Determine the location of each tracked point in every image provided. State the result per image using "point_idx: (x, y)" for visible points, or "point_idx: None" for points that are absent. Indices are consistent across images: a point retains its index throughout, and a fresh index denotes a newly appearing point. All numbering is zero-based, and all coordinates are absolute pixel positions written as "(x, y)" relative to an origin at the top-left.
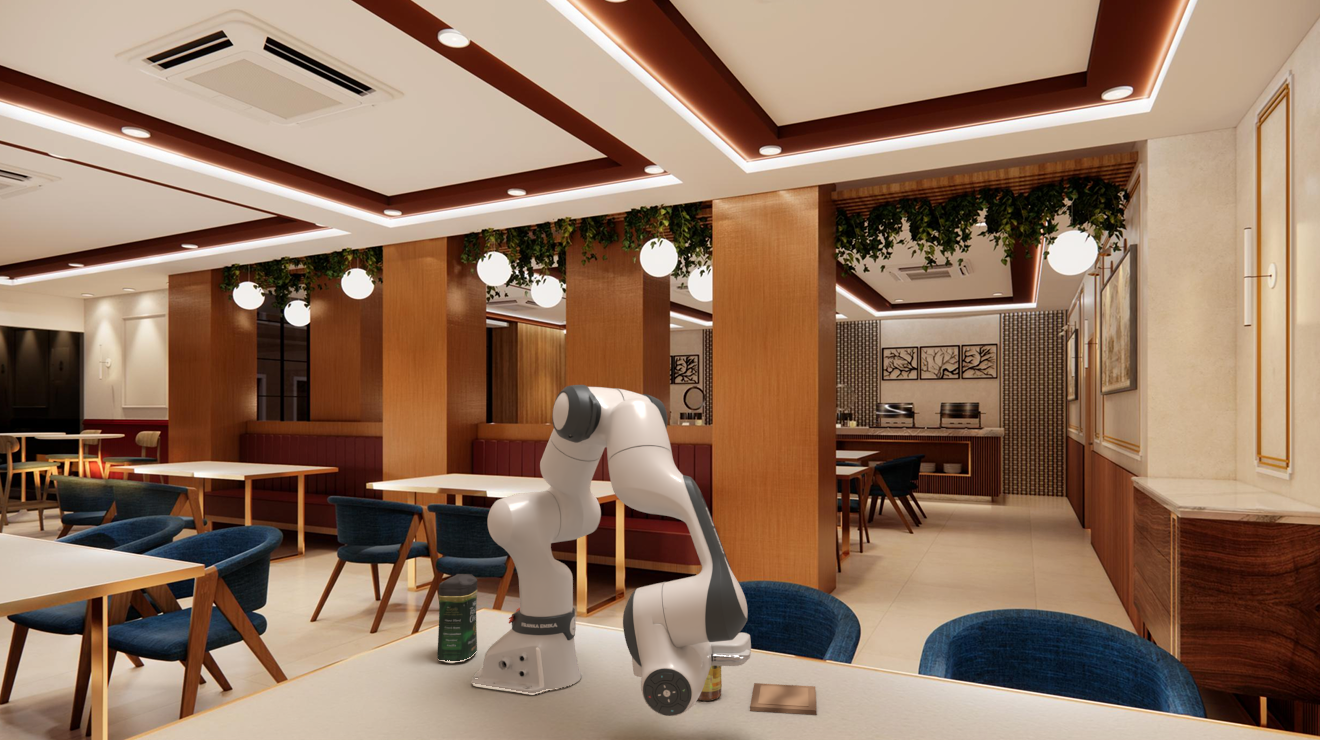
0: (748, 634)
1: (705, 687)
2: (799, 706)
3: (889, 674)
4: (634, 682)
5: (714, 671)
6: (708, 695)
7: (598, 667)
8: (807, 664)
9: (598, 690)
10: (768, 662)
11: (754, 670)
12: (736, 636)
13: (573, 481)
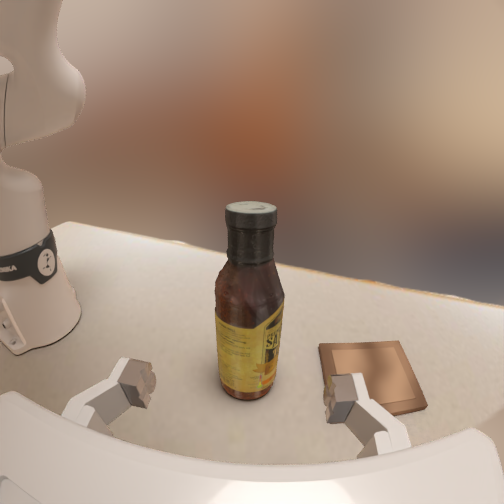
0: (491, 441)
1: (249, 387)
2: (404, 401)
3: (439, 299)
4: (139, 337)
5: (268, 365)
6: (254, 395)
7: (107, 299)
8: (361, 289)
9: (87, 354)
10: (318, 288)
11: (306, 305)
12: (470, 491)
13: (2, 22)
